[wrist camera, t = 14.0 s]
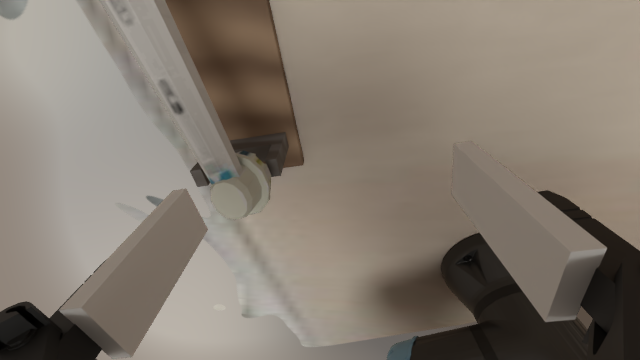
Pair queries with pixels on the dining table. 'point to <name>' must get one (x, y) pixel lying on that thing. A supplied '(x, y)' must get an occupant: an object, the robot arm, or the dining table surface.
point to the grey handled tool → (190, 105)
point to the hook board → (242, 77)
